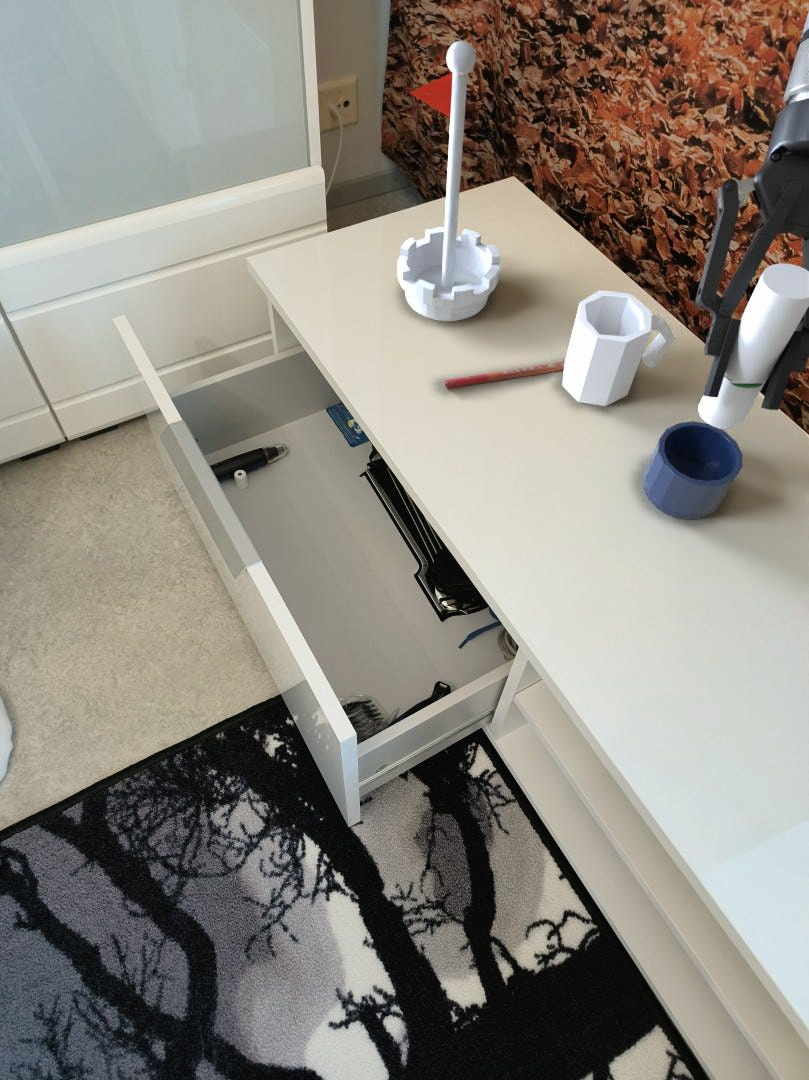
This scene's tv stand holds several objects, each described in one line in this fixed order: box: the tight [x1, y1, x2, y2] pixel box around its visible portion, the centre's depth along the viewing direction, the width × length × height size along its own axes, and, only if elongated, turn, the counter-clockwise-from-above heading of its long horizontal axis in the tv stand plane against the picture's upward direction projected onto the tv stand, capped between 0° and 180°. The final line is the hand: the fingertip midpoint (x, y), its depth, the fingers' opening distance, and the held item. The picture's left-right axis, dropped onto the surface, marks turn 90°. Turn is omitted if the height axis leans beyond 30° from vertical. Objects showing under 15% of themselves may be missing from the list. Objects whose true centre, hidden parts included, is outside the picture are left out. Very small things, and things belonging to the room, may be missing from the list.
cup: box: [642, 420, 744, 520], centre depth 78 cm, size 8×8×6 cm
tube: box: [697, 262, 809, 430], centre depth 64 cm, size 4×4×15 cm
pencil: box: [444, 360, 565, 389], centre depth 89 cm, size 19×1×1 cm, turn 102°
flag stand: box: [396, 40, 501, 322], centre depth 85 cm, size 13×13×30 cm
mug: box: [562, 289, 677, 407], centre depth 85 cm, size 12×9×10 cm
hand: (739, 402), depth 64 cm, fingers closed on tube, 4 cm apart
